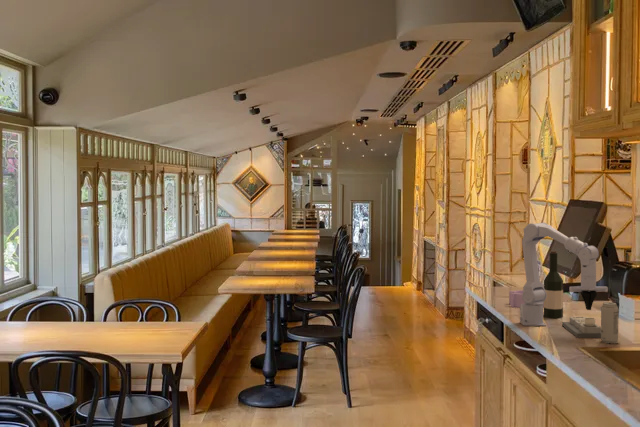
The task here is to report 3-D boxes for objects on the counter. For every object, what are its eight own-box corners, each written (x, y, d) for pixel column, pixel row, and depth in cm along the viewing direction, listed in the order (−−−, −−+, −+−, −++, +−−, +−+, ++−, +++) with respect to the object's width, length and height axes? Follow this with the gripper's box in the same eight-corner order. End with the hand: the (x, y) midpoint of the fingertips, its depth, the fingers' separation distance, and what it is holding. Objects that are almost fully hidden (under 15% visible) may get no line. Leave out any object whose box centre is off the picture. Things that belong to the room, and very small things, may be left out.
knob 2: (581, 328, 273) (581, 321, 273) (578, 326, 277) (578, 319, 277) (591, 328, 273) (591, 321, 273) (588, 326, 277) (588, 319, 277)
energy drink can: (603, 339, 261) (603, 301, 260) (620, 341, 257) (620, 303, 257) (598, 342, 256) (599, 303, 256) (615, 344, 253) (615, 305, 252)
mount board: (577, 337, 265) (577, 327, 265) (562, 325, 287) (562, 316, 286) (608, 337, 264) (608, 327, 264) (591, 325, 286) (591, 316, 285)
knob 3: (586, 326, 266) (586, 319, 266) (583, 323, 270) (583, 317, 270) (596, 326, 266) (596, 319, 266) (593, 323, 270) (593, 317, 270)
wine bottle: (564, 318, 301) (564, 252, 299) (545, 318, 302) (545, 252, 301) (561, 315, 309) (561, 250, 307) (542, 314, 310) (542, 250, 309)
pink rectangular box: (549, 304, 336) (549, 290, 336) (554, 309, 324) (554, 294, 324) (508, 303, 340) (508, 290, 339) (511, 308, 328) (511, 294, 327)
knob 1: (576, 324, 280) (576, 318, 280) (573, 322, 284) (573, 316, 284) (585, 324, 280) (585, 318, 280) (583, 322, 284) (583, 316, 284)
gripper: (572, 277, 266) (572, 311, 267) (610, 277, 265) (610, 311, 265) (567, 275, 273) (567, 308, 274) (604, 274, 272) (604, 308, 272)
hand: (588, 309), depth 270 cm, fingers closed
